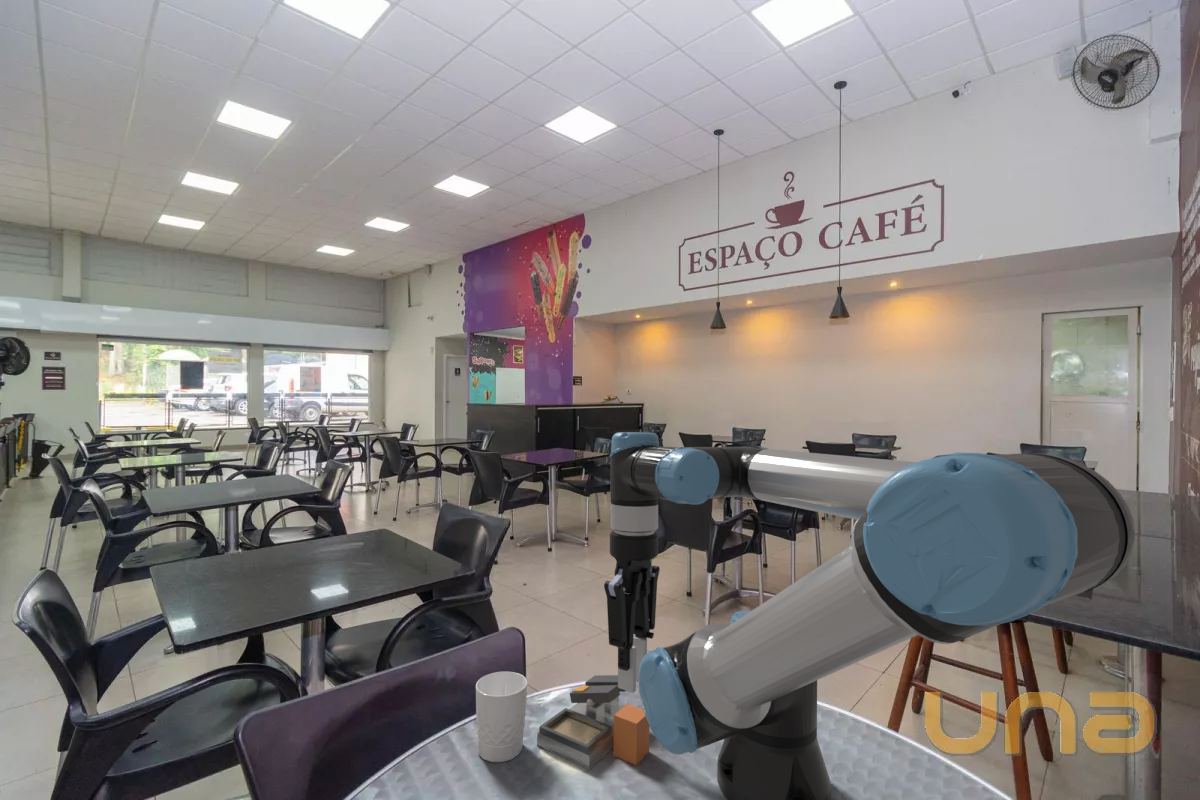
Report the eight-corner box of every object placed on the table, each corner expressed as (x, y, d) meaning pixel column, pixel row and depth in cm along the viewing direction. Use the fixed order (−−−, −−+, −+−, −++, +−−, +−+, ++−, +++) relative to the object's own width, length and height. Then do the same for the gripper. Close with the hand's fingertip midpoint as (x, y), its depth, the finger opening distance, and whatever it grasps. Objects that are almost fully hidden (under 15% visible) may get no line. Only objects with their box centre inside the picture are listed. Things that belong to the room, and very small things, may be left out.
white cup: (515, 769, 77) (516, 699, 78) (465, 761, 79) (466, 692, 79) (532, 737, 85) (534, 674, 85) (486, 731, 87) (488, 668, 87)
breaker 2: (621, 698, 87) (618, 683, 87) (610, 707, 84) (606, 691, 85) (583, 698, 91) (580, 684, 92) (571, 707, 88) (568, 692, 89)
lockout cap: (649, 751, 82) (649, 711, 82) (636, 765, 79) (636, 723, 79) (626, 742, 84) (627, 703, 85) (613, 755, 81) (614, 715, 81)
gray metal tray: (640, 722, 90) (640, 697, 90) (589, 769, 77) (589, 740, 78) (591, 704, 95) (592, 680, 96) (537, 745, 83) (537, 717, 83)
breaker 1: (635, 687, 91) (632, 674, 91) (625, 695, 88) (622, 682, 88) (598, 687, 95) (595, 675, 95) (587, 695, 92) (584, 682, 92)
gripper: (638, 520, 92) (636, 660, 90) (585, 536, 79) (582, 699, 77) (677, 526, 87) (676, 671, 86) (628, 542, 74) (626, 715, 73)
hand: (632, 684), depth 82 cm, fingers open, 3 cm apart
